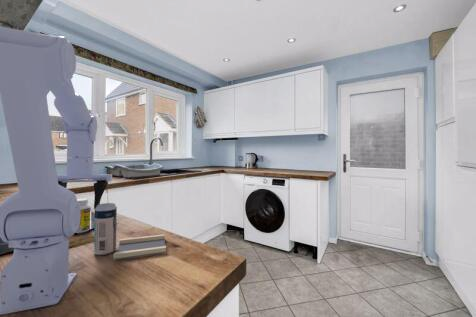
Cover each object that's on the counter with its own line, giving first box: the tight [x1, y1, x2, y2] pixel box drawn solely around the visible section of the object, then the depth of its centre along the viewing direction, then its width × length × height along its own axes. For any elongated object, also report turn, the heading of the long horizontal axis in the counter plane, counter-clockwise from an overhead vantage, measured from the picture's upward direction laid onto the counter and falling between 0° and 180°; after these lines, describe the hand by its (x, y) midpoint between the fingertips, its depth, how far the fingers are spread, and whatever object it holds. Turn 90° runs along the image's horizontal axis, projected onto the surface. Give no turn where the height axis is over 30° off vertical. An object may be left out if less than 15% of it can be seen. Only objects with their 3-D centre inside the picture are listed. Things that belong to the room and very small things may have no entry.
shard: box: [69, 235, 94, 248], centre depth 59 cm, size 11×8×2 cm
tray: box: [112, 234, 167, 262], centre depth 56 cm, size 10×12×2 cm
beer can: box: [93, 202, 118, 256], centre depth 54 cm, size 5×5×12 cm
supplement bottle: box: [75, 198, 92, 234], centre depth 69 cm, size 6×6×10 cm
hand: (79, 209), depth 57 cm, fingers open, 7 cm apart
